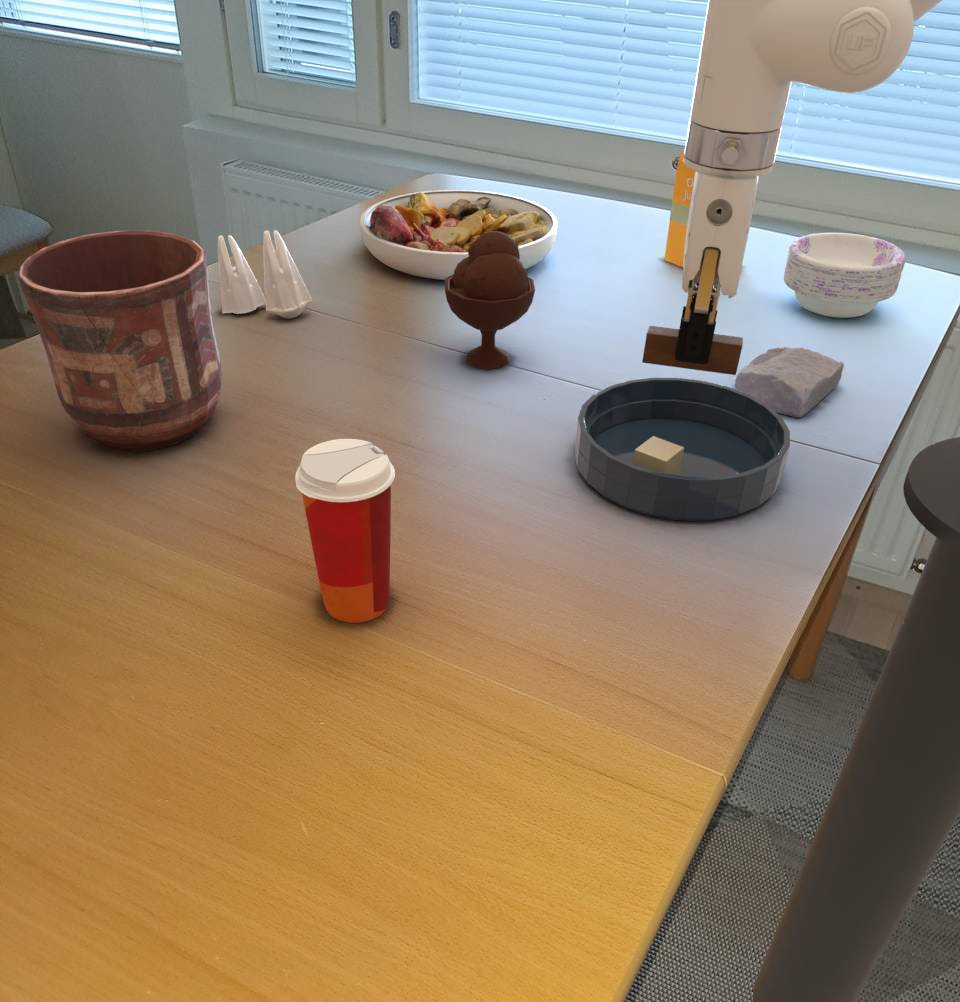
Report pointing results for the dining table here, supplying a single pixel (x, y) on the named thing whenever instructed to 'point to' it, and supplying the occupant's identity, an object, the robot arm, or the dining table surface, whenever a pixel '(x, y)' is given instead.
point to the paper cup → (349, 525)
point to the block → (659, 456)
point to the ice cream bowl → (490, 293)
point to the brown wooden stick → (663, 353)
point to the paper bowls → (842, 272)
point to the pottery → (127, 334)
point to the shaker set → (280, 280)
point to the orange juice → (679, 213)
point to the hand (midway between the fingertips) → (692, 353)
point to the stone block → (790, 379)
